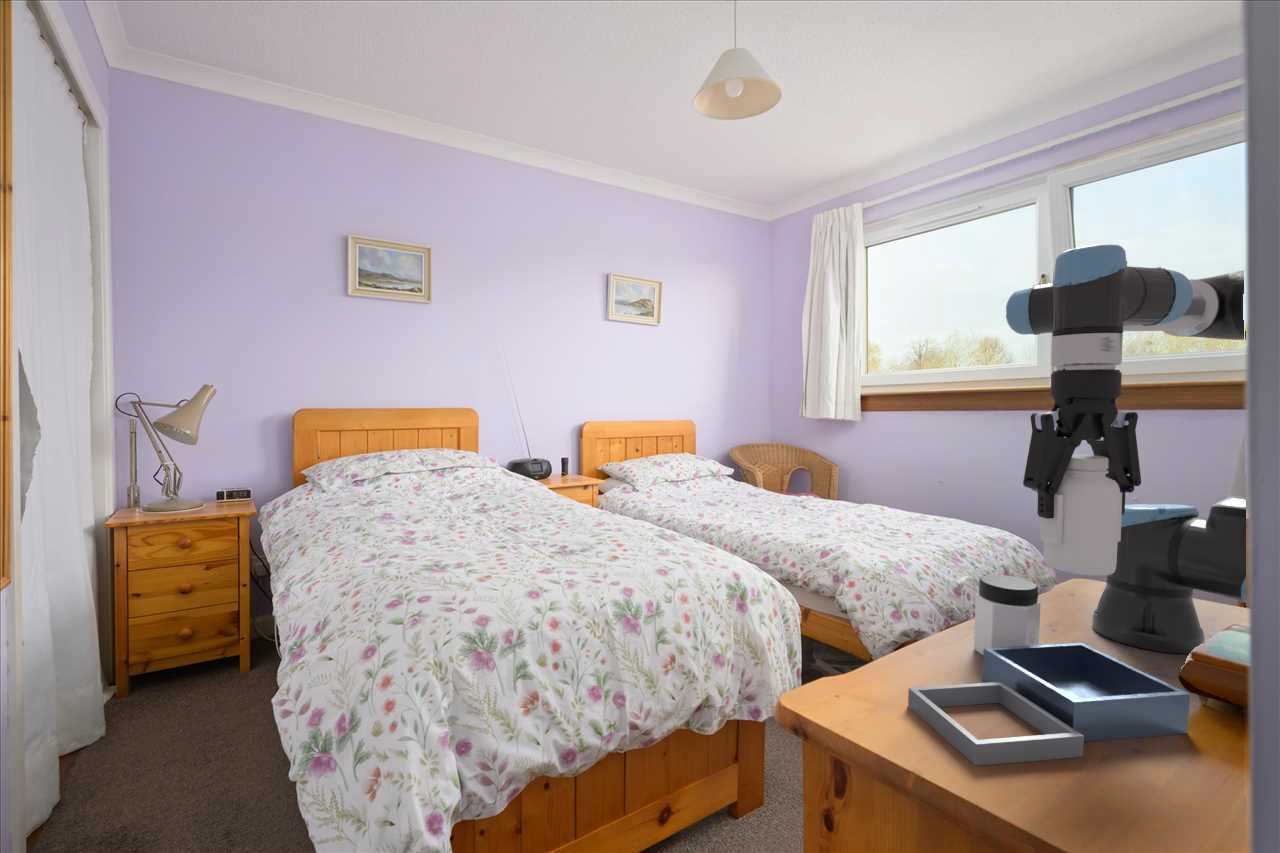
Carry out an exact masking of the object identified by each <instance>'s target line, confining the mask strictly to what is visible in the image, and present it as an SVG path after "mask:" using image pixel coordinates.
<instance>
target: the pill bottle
mask: <svg viewBox="0 0 1280 853" xmlns="http://www.w3.org/2000/svg"><path fill="white" fill-rule="evenodd" d="M1108 461H1109V459H1108V458H1107V457H1103V456H1096V455H1094V454H1083V453H1082V454H1079V453H1076V454H1075V453H1073V455H1072V458H1071V460H1070V462H1069V465H1068V467H1067V470H1066V472H1065V474H1064V477H1063V479H1062V482H1061V484H1060V487H1059V489H1058V491H1057V493H1056V494H1061V495H1063V526H1062V545H1055V544H1052V543H1049V542H1045V541H1043V561H1044V564H1045V565H1046V566H1047V567H1050V568H1053V569H1054V570H1056V571H1057V570H1058V571H1061V572H1065V573H1070V574H1076V575H1083V576H1093V577H1094V576H1096V577H1097V576H1098V577H1101V576H1107V575H1110V574H1113V573H1114V572H1115V570H1116V564H1117V544H1118V525H1119V505H1120V488H1119V486H1118V484H1117V483H1116V482H1115V481H1114V480H1112V479H1110V478H1108V477H1106V476H1105V474H1107V473H1108V471H1107V470H1106V469H1108ZM1048 484H1049V482H1048Z"/></svg>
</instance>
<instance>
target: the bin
mask: <svg viewBox="0 0 1280 853" xmlns="http://www.w3.org/2000/svg"><path fill="white" fill-rule="evenodd" d="M982 656H983V659H982V676H981V677H982V681H981V683H990V682H1002V683H1003V684H1005V685H1006V686H1008V687H1010V688H1011V689H1013V690H1014V691H1016V692H1017V693H1019V694H1020V695H1022V696H1023V697H1025V698H1026V699H1028V700H1030V701H1031V702H1033V703H1034V704H1036V705H1037V706H1039V707H1040V708H1042V709H1043V710H1045V711H1046V712H1048V713H1050V714H1051V715H1053V716H1054V717H1056V718H1057V719H1059V720H1060V721H1062V722H1063V723H1065V724H1067V725H1068V726H1070V727H1071V728H1073V729H1074V730H1076V731H1077V732H1079V733H1080V734H1082V735H1083V736H1084V742H1085V743H1086V742H1095V741H1098V742H1099V741H1106V740H1107V741H1108V740H1110V741H1111V740H1119V739H1120V740H1121V739H1133V738H1142V737H1143V738H1145V737H1146V738H1147V737H1158V736H1170V735H1171V736H1172V735H1182V734H1188V731H1189V714H1190V697H1191V696H1190V695H1191V694H1190V693H1189V692H1186V691H1184V690H1182V689H1180V688H1178V687H1176V686H1173V685H1172V684H1169V683H1167V682H1165V681H1163V680H1160V679H1159V678H1157V677H1155V676H1154V675H1150V674H1148V673H1147V672H1145V671H1142V670H1140V669H1138V668H1135V667H1134V666H1131V665H1130V664H1128V663H1125V662H1124V661H1121V660H1120V659H1117V658H1115V657H1112V656H1110V655H1108V654H1106V653H1104V652H1103V651H1101V650H1098V649H1096V648H1094V647H1092V646H1090V645H1087V644H1085V643H1084V642H1069V643H1052V644H1049V643H1048V644H1039V645H1031V646H1013V647H995V648H984V650H983V655H982Z"/></svg>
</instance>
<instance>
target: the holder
mask: <svg viewBox="0 0 1280 853" xmlns="http://www.w3.org/2000/svg"><path fill="white" fill-rule="evenodd" d="M907 695H908V697H907V700H908V701H907V702H908V703H907V706H908V708H910V709H911V710H912V711H913V712H914V713H915V714H917V715H918V716H919V717H920V718H921V719H922V720H924V721H925V723H927V724H928V725H929V726H930V727H931V728H933V729H934V730H935V731H936V732H937V733H938V734H939V735H940V736H942V738H944V739H945V740H946V741H947V742H948V743H949V744H950V745H951V746H953V747H954V748H955V749H956V750H957V751H958V752H960V754H962V756H964V757H965V758H967V760H968V761H970V762H971V763H972V764H973V766H975V767H977V766H978V767H980V766H988V765H990V766H991V765H999V764H1012V763H1024V762H1037V761H1039V762H1040V761H1048V760H1060V759H1071V758H1072V759H1073V758H1083V757H1084V746H1085V745H1084V736H1083V735H1082V734H1080V733H1079V732H1077V731H1076V730H1074V729H1073V728H1071V727H1070V726H1068V725H1067V724H1065V723H1063V722H1062V721H1060V720H1059V719H1057V718H1056V717H1054V716H1053V715H1051V714H1050V713H1048V712H1046V711H1045V710H1043V709H1042V708H1040V707H1039V706H1037V705H1036V704H1034V703H1033V702H1031V701H1030V700H1028V699H1026V698H1025V697H1023V696H1022V695H1020V694H1019V693H1017V692H1016V691H1014V690H1013V689H1011V688H1010V687H1008V686H1006V685H1005V684H1003V683H1002V682H990V683H984V682H977V683H961V684H947V685H945V684H943V685H931V686H917V687H916V686H913V687H908V694H907ZM983 704H986V705H987V704H1000V705H1002V706H1003V707H1004V708H1006V709H1007V710H1009V711H1010V712H1012V713H1013V714H1014V715H1015V716H1017V717H1019V718H1020V719H1022V721H1025V723H1027V724H1029V725H1030V726H1031V727H1032V728H1035V729H1036V730H1037V731H1039V732H1040V733H1042V734H1037V735H1025V736H1024V735H1023V736H1014V737H1013V736H1012V737H999V738H985V739H984V738H983V739H978V738H977V737H975V736H974V735H973V734H972V733H971V732H969V731H968V730H967V729H966V728H964V726H962V725H961V724H959V722H957V721H956V720H955V719H953V718H952V716H949V715H948V714H947V713H946V712H945V711H944V710H942V709H941V708H942V707H957V706H971V705H983Z"/></svg>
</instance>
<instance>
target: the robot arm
mask: <svg viewBox="0 0 1280 853" xmlns="http://www.w3.org/2000/svg"><path fill="white" fill-rule="evenodd" d="M1244 270H1245V269H1243V270H1240V271H1239V270H1238V271H1233V272H1229V273H1224V274H1220V275H1214V276H1210V277H1204V278H1198V279H1192V278H1191V279H1189V278H1188V277H1187V276H1186V275H1185V274H1184V273H1181V272H1179V271H1176V270H1172V269H1166V267H1163V268H1162V267H1159V266H1157V267H1141V266H1129V265H1128V261H1127V256H1126V250H1125V248H1124V247H1123V246H1121V245H1119V244H1111V243H1110V244H1108V243H1107V244H1106V243H1105V244H1104V243H1103V244H1095V245H1094V244H1093V245H1086V246H1080V247H1079V246H1078V247H1074V248H1072V249H1067V250H1065V251H1063V252H1061V253H1060V254H1059V255H1058V256H1057V257H1056V259H1055V264H1054V272H1053V273H1054V274H1053V281H1052V283H1046V284H1033V285H1032V286H1028V287H1025V288H1020V289H1018V290H1015V291H1014V292H1013V293H1012V294H1011V295H1010V296H1009V298H1008V300H1007V303H1006V306H1005V309H1006V310H1005V319H1006V322H1007V324H1008V326H1009V327H1010V330H1012V331H1013V332H1015V333H1016V334H1019V335H1032V336H1033V335H1034V336H1035V335H1041V334H1052V338H1051V339H1052V340H1051V358H1050V359H1051V361H1050V365H1051V366H1052V367H1054V368H1055V371H1052V373H1051V374H1050V396H1051V398H1052V399H1053V400H1054V404H1053V407H1052V408H1051V411H1049V412H1048V411H1047V412H1044V413H1042V412H1040V413H1039V412H1034V413H1031V415H1030V423H1031V429H1032V430H1031V437H1030V442H1029V448H1028V454H1027V459H1026V463H1025V464H1026V465H1025V471H1024V475H1023V476H1024V477H1023V482H1022V483H1023V486H1024V487H1025V488H1028V489H1031V490H1032V491H1035V492H1037V515H1038V517H1040V518H1041V519H1040V541H1043V542H1044V541H1045V542H1049V543H1052V544H1055V545H1062V526H1063V495H1061V494H1056V493H1057V491H1058V489H1059V487H1060V484H1061V482H1062V479H1063V477H1064V474H1065V472H1066V470H1067V467H1068V465H1069V462H1070V460H1071V458H1072V455H1073V454H1075V453H1074V452H1075V451H1076V448H1078V447H1080V445H1081V443H1082V441H1085V442H1086V443H1087V444H1088V445H1090V447H1091V450H1092V453H1093V455H1096V456H1103V457H1107V458H1108V459H1109V461H1108V469H1106V470H1107V471H1108V473H1107V474H1105V476H1106V477H1108V478H1110V479H1112V480H1114V481H1115V482H1116V483H1117V484H1118V486H1119V488H1120V505H1119V525H1118V544H1117V564H1116V570H1115V572H1114V573H1113V574H1110V575H1106V581H1105V582H1106V584H1105V588H1104V589H1103V592H1102V595H1100V599H1099V601H1098V603H1097V606H1096V609H1094V611H1093V613H1092V622H1091V625H1092V629H1093V630H1094V631H1095V632H1097V633H1098V634H1100V635H1102V636H1103V637H1106V638H1108V639H1110V640H1112V641H1116V642H1118V643H1121V644H1125V645H1128V646H1132V647H1135V648H1140V649H1144V650H1149V651H1154V652H1163V653H1167V654H1168V653H1169V654H1170V653H1171V654H1192V653H1191V651H1192V650H1193V649H1194V648H1195V647H1197V646H1199V645H1200V644H1202V643H1204V644H1205V639H1206V638H1205V637H1206V636H1205V632H1204V630H1203V628H1202V627H1201V624H1200V620H1199V617H1198V613H1197V608H1196V606H1195V604H1194V603H1195V602H1194V599H1193V596H1194V595H1193V594H1194V590H1196V591H1200V592H1204V593H1207V594H1211V595H1215V596H1219V597H1222V598H1227V599H1230V600H1235V601H1238V602H1242V603H1244V604H1247V600H1246V477H1245V437H1244V430H1243V432H1242V436H1241V440H1240V445H1239V448H1238V452H1237V457H1236V461H1235V465H1234V468H1233V471H1232V472H1233V473H1232V476H1231V481H1230V484H1229V489H1228V492H1227V496H1226V498H1225V499H1222V500H1220V501H1218V502H1216V503H1214V504H1212V505H1211V507H1210V512H1209V515H1208V518H1206V517H1201V516H1200V517H1199V515H1200V513H1199V511H1198V508H1197V507H1196V506H1193V505H1187V504H1170V503H1169V504H1168V503H1167V504H1165V503H1161V504H1159V503H1145V504H1144V503H1143V504H1141V503H1140V504H1138V503H1137V504H1126V493H1129V494H1130V493H1133V492H1134V490H1135V487H1139V486H1140V485H1142V478H1141V476H1142V475H1141V467H1140V457H1139V449H1138V442H1137V432H1136V431H1137V430H1136V429H1137V424H1138V419H1139V414H1138V413H1137V412H1135V411H1121V410H1118V407H1117V406H1116V399H1118V398H1120V397H1121V395H1122V376H1123V375H1122V374H1123V373H1122V371H1121V370H1120V369H1116V367H1117V366H1120V365H1121V364H1122V363H1123V339H1124V338H1123V336H1124V334H1123V333H1124V332H1163V333H1164V334H1165V333H1166V334H1167V335H1170V336H1173V337H1178V338H1179V337H1189V338H1191V337H1192V338H1203V339H1205V338H1206V339H1218V340H1220V339H1221V340H1234V341H1235V340H1236V341H1241V340H1242V341H1244V320H1243V294H1244ZM1245 340H1246V331H1245ZM1246 341H1247V340H1246ZM1048 482H1049V484H1048Z"/></svg>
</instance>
